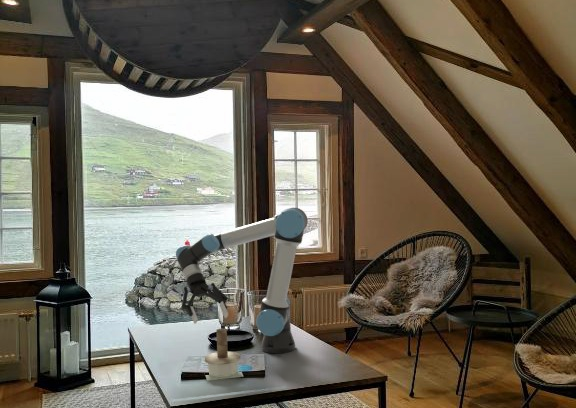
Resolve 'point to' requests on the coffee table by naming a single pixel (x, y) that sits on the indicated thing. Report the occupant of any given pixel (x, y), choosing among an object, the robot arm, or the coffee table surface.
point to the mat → (238, 374)
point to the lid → (222, 351)
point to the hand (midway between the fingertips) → (211, 319)
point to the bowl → (223, 369)
